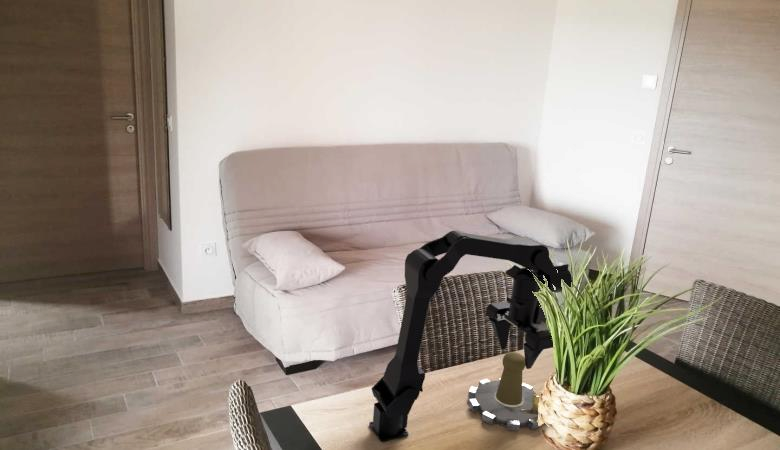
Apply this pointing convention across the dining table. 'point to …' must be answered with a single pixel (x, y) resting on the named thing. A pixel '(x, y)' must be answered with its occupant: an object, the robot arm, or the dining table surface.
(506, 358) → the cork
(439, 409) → the dining table surface
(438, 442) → the dining table surface
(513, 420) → the sprocket
